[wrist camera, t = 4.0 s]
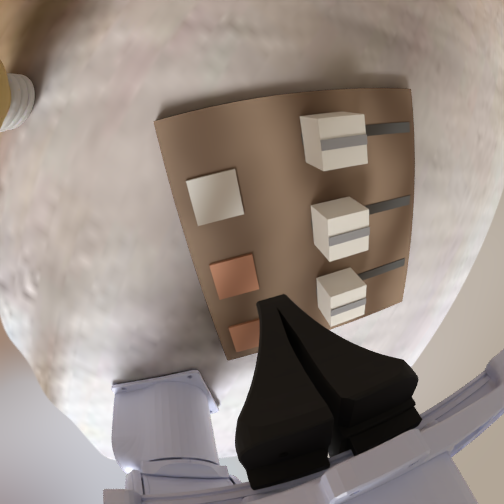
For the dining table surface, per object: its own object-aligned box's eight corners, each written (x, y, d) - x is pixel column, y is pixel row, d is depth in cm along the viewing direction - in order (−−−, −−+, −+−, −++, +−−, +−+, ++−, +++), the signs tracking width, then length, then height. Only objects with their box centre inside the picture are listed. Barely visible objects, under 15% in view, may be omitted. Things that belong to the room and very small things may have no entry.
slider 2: (317, 306, 24) (331, 327, 22) (316, 277, 22) (331, 298, 20) (349, 296, 24) (364, 315, 22) (350, 267, 23) (367, 285, 20)
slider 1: (305, 162, 18) (324, 171, 16) (299, 116, 16) (318, 118, 14) (346, 155, 18) (368, 163, 16) (342, 111, 17) (364, 114, 14)
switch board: (225, 352, 26) (227, 362, 25) (155, 120, 16) (153, 121, 15) (396, 295, 28) (403, 302, 27) (402, 88, 18) (412, 89, 17)
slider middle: (314, 244, 21) (330, 262, 19) (310, 205, 19) (328, 220, 17) (350, 234, 21) (369, 250, 19) (349, 196, 20) (369, 209, 17)
